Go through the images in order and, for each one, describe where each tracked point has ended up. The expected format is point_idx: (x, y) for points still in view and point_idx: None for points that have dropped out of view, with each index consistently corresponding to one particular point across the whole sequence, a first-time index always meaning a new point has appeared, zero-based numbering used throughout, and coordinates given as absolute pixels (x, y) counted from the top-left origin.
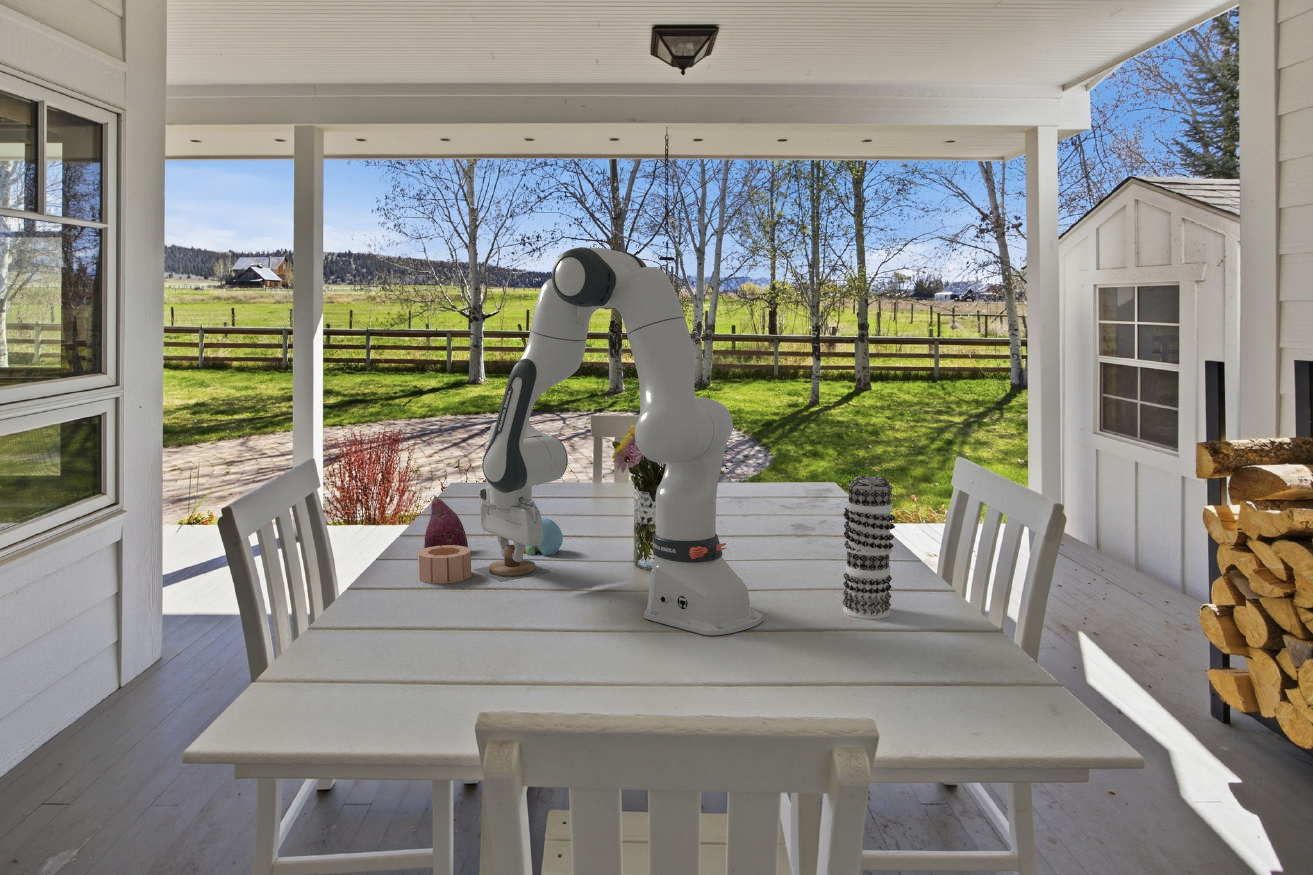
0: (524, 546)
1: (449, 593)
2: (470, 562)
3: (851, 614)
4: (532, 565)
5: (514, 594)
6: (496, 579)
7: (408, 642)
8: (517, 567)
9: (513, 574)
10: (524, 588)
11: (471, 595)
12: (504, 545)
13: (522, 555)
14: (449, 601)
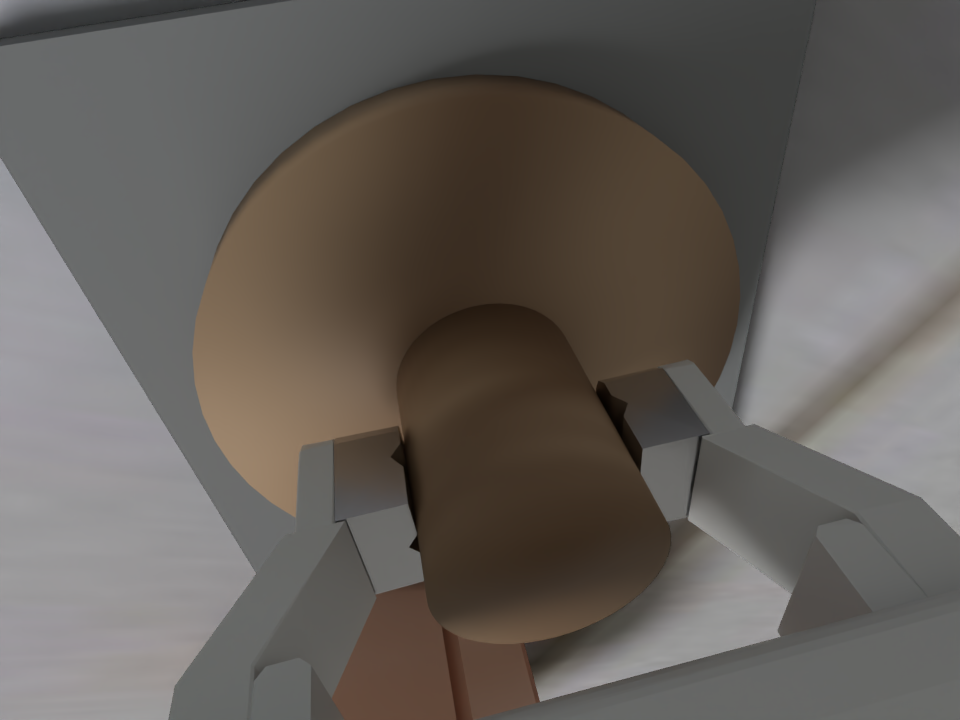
0: (896, 507)
1: (630, 649)
2: (471, 706)
3: None
4: (662, 180)
5: (919, 420)
6: None
7: None
8: (618, 357)
9: None
10: (886, 339)
11: (736, 585)
12: (345, 617)
13: (721, 402)
14: (737, 646)
